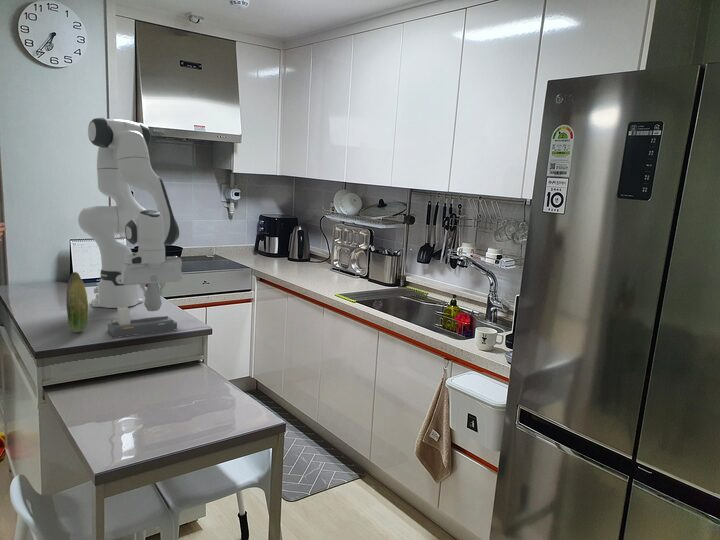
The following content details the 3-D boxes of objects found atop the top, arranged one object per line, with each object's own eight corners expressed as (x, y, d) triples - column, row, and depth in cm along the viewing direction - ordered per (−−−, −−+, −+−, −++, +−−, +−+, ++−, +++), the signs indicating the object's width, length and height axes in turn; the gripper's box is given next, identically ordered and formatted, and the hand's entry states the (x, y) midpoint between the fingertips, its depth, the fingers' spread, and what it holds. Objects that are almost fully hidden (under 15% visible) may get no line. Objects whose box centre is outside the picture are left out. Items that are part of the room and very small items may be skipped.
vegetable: (92, 330, 178) (89, 271, 175) (84, 335, 172) (82, 274, 169) (72, 330, 177) (69, 270, 174) (64, 335, 171) (61, 274, 168)
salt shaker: (155, 312, 188) (154, 275, 186) (141, 311, 189) (140, 274, 187) (165, 308, 193) (164, 273, 191) (150, 307, 195) (149, 272, 193)
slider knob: (117, 323, 178) (117, 307, 177) (127, 322, 179) (127, 306, 178) (120, 326, 174) (120, 310, 173) (130, 325, 176) (130, 309, 175)
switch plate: (108, 330, 178) (107, 321, 178) (169, 323, 190) (168, 314, 190) (114, 337, 171) (113, 327, 171) (177, 329, 183) (176, 320, 183)
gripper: (178, 254, 197) (179, 291, 199) (119, 257, 185) (120, 296, 187) (184, 256, 192) (184, 294, 194) (123, 259, 180) (124, 300, 182)
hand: (152, 295), depth 191 cm, fingers closed on salt shaker, 3 cm apart
